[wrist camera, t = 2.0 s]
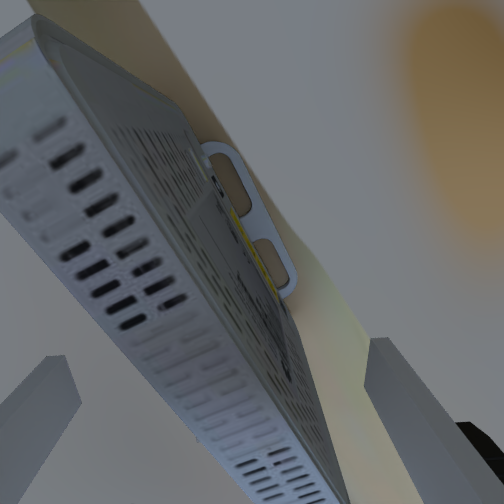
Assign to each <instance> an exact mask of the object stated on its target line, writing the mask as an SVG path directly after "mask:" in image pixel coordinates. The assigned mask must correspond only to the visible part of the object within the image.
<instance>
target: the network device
mask: <svg viewBox="0 0 504 504" xmlns="http://www.w3.org/2000/svg"><path fill="white" fill-rule="evenodd" d="M215 153H223V154H226V155H227V156H228V157H229V158H230V159H231V161H232V163H233V165H234V167H235V169H236V171H237V173H238V175H239V177H240V179H241V181H242V183H243V185H244V187H245V189H246V191H247V193H248V195H249V197H250V199H251V201H252V207H251V210H250V211H249V212H248V213H247V214H246V215H244V216H242V217H240V218H239V217H238V215H237V213H236V211H235V209H234V207H233V206H232V204H231V202H230V200H229V198H228V196H227V194H226V192H225V191H224V189H223V187H222V185H221V183H220V181H219V179H218V177H217V176H216V174H215V172H214V170H213V168H212V164H211V162H210V160H209V158H208V157H209V156H211V155H213V154H215ZM0 212H1V213H2V214H3V216H4V217H5V218H6V219H7V220H8V221H9V223H11V225H12V226H13V227H14V228H15V230H17V232H18V233H19V234H20V235H21V236H22V238H23V239H24V240H25V241H26V242H27V243H28V244H29V245H30V247H31V248H32V249H33V250H34V251H35V252H36V254H37V255H38V256H39V257H40V258H41V259H42V260H43V262H44V263H45V264H46V265H47V266H48V267H49V268H50V270H51V271H52V272H53V273H54V274H55V275H56V277H57V278H58V279H59V280H60V281H61V282H62V283H63V284H64V286H65V287H66V288H67V289H68V290H69V291H70V293H71V294H72V295H73V296H74V297H75V298H76V299H77V301H78V302H79V303H80V304H81V305H82V306H83V308H84V309H85V310H86V311H87V312H88V313H89V314H90V315H91V317H92V318H93V319H94V320H95V321H96V322H97V324H98V325H99V326H100V327H101V328H102V329H103V330H104V332H105V333H106V334H107V335H108V336H109V337H110V338H111V340H112V341H113V342H114V343H115V344H116V345H117V346H118V347H119V349H120V350H121V351H122V352H123V353H124V354H125V356H126V357H127V358H128V359H129V360H130V361H131V363H132V364H133V365H134V366H135V367H136V368H137V369H138V371H139V372H140V373H141V374H142V375H143V376H144V377H145V379H146V380H147V381H148V382H149V383H150V384H151V385H152V387H153V388H154V389H155V390H156V391H157V392H158V393H159V395H160V396H161V397H162V398H163V399H164V400H165V402H167V404H168V405H169V406H170V407H171V408H172V410H173V411H174V412H175V413H176V414H177V415H178V416H179V418H180V419H181V420H182V421H183V422H184V423H185V424H186V426H187V427H188V428H189V429H190V430H191V431H192V433H193V434H194V435H195V436H196V437H197V438H198V439H199V441H200V442H201V443H202V444H203V445H204V446H205V447H206V449H207V450H208V451H209V452H210V453H211V454H212V455H213V456H214V458H215V459H216V460H217V461H218V462H219V463H220V465H221V466H222V467H223V468H224V469H225V470H226V472H227V473H228V474H229V475H230V476H231V477H232V478H233V479H234V481H235V482H236V483H237V484H238V485H239V486H240V488H241V489H242V490H243V491H244V492H245V493H246V494H247V496H248V497H249V498H250V499H251V500H252V501H253V502H254V504H351V503H350V500H349V496H348V493H347V490H346V487H345V483H344V480H343V477H342V473H341V470H340V467H339V464H338V460H337V457H336V454H335V450H334V447H333V444H332V440H331V437H330V434H329V431H328V427H327V424H326V421H325V417H324V414H323V411H322V408H321V404H320V401H319V398H318V394H317V391H316V388H315V385H314V381H313V378H312V375H311V371H310V368H309V365H308V362H307V358H306V355H305V352H304V348H303V345H302V342H301V338H300V335H299V332H298V330H297V327H296V325H295V323H294V320H293V318H292V316H291V314H290V313H289V311H288V309H287V307H286V305H285V303H284V301H283V299H284V298H285V297H287V296H288V295H289V294H291V293H292V291H293V290H294V289H295V286H296V284H297V272H296V269H295V267H294V265H293V263H292V261H291V259H290V257H289V255H288V253H287V251H286V248H285V246H284V244H283V242H282V240H281V238H280V236H279V234H278V232H277V230H276V228H275V226H274V224H273V222H272V220H271V218H270V216H269V214H268V212H267V210H266V207H265V205H264V203H263V201H262V199H261V197H260V195H259V193H258V191H257V189H256V187H255V185H254V183H253V181H252V179H251V177H250V175H249V173H248V171H247V168H246V166H245V164H244V162H243V160H242V158H241V157H240V155H239V153H238V152H237V151H236V150H235V149H234V148H232V147H231V146H229V145H228V144H225V143H222V142H216V141H212V142H206V143H204V144H201V145H200V144H199V142H198V140H197V138H196V136H195V134H194V132H193V131H192V129H191V127H190V125H189V123H188V121H187V120H186V118H185V116H184V115H183V113H182V111H181V110H180V108H179V107H178V106H177V105H176V103H174V102H173V101H171V100H170V99H168V98H167V97H165V96H164V95H162V94H161V93H159V92H158V91H156V90H155V89H153V88H152V87H150V86H149V85H147V84H146V83H144V82H143V81H141V80H140V79H138V78H137V77H135V76H134V75H132V74H131V73H129V72H128V71H126V70H125V69H123V68H122V67H120V66H119V65H117V64H115V63H114V62H112V61H111V60H109V59H108V58H106V57H105V56H103V55H102V54H100V53H99V52H97V51H96V50H94V49H93V48H91V47H90V46H88V45H87V44H85V43H84V42H82V41H81V40H79V39H78V38H76V37H75V36H73V35H72V34H70V33H69V32H67V31H66V30H64V29H63V28H61V27H60V26H58V25H57V24H55V23H54V22H52V21H51V20H49V19H47V18H46V17H44V16H42V15H38V14H34V15H33V16H31V17H30V18H28V19H27V20H25V21H24V22H23V23H21V24H20V25H18V26H17V27H15V28H14V29H13V30H11V31H10V32H8V33H7V34H5V35H4V36H2V37H1V38H0ZM262 238H264V239H268V240H270V241H271V242H272V243H273V245H274V247H275V249H276V251H277V253H278V255H279V257H280V259H281V261H282V263H283V265H284V267H285V269H286V271H287V273H288V275H289V280H288V282H287V283H286V284H285V285H284V286H282V287H280V288H276V286H275V284H274V283H273V281H272V279H271V277H270V275H269V273H268V271H267V269H266V268H265V266H264V264H263V262H262V260H261V258H260V256H259V254H258V252H257V251H256V249H255V247H254V245H253V243H252V242H254V241H256V240H258V239H262Z"/></svg>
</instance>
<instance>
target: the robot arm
mask: <svg viewBox="0 0 504 504" xmlns="http://www.w3.org/2000/svg"><path fill="white" fill-rule="evenodd" d="M364 388H365V390H366V392H367V393H368V395H369V397H370V399H371V401H372V403H373V405H374V407H375V409H376V411H377V413H378V415H379V417H380V419H381V421H382V423H383V425H384V427H385V428H386V430H387V432H388V434H389V436H390V438H391V440H392V442H393V444H394V446H395V448H396V450H397V452H398V454H399V456H400V458H401V460H402V461H403V463H404V465H405V467H406V469H407V471H408V473H409V475H410V477H411V479H412V481H413V483H414V485H415V487H416V489H417V491H418V493H419V495H420V496H421V498H422V500H423V502H424V504H504V453H503V452H502V451H501V450H500V448H499V447H498V446H497V445H496V444H495V443H494V441H493V440H492V439H491V438H490V437H489V436H488V435H486V434H485V433H484V432H483V431H481V430H480V429H478V428H477V427H476V426H475V425H473V424H472V423H471V422H457V423H456V422H454V421H453V420H452V418H451V417H450V416H449V415H448V413H447V412H446V411H445V409H444V408H443V407H442V406H441V404H440V403H439V402H438V400H437V399H436V398H435V397H434V395H433V394H432V393H431V392H430V390H429V389H428V388H427V387H426V385H425V384H424V383H423V382H422V380H421V379H420V377H419V376H418V375H417V374H416V372H415V371H414V370H413V368H412V367H411V366H410V365H409V364H408V362H407V361H406V360H405V358H404V357H403V356H402V355H401V353H400V352H399V351H398V349H397V348H396V347H395V345H394V344H393V343H392V342H391V340H390V339H389V338H388V337H387V338H371V340H370V347H369V354H368V361H367V368H366V375H365V382H364ZM81 404H82V402H81V399H80V396H79V393H78V391H77V388H76V385H75V382H74V379H73V377H72V374H71V371H70V368H69V366H68V363H67V360H66V357H65V355H61V356H46V357H45V359H44V360H43V361H42V362H41V363H40V364H39V365H38V366H37V367H36V368H35V369H34V370H33V371H32V372H31V373H30V374H29V375H28V376H27V377H26V378H25V379H24V380H23V381H22V383H21V384H20V385H19V386H18V387H17V388H16V389H15V390H14V391H13V392H12V393H11V394H10V395H9V396H8V397H7V398H6V399H5V400H4V401H3V402H2V403H1V404H0V504H18V502H19V501H20V499H21V498H22V496H23V494H24V493H25V491H26V490H27V488H28V487H29V485H30V483H31V482H32V480H33V479H34V477H35V476H36V474H37V472H38V471H39V469H40V468H41V466H42V465H43V463H44V462H45V460H46V458H47V457H48V455H49V454H50V452H51V451H52V449H53V447H54V446H55V444H56V443H57V441H58V440H59V438H60V436H61V435H62V433H63V432H64V430H65V429H66V427H67V426H68V424H69V422H70V421H71V419H72V418H73V416H74V414H75V413H76V412H77V410H78V408H79V407H80V405H81Z"/></svg>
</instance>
